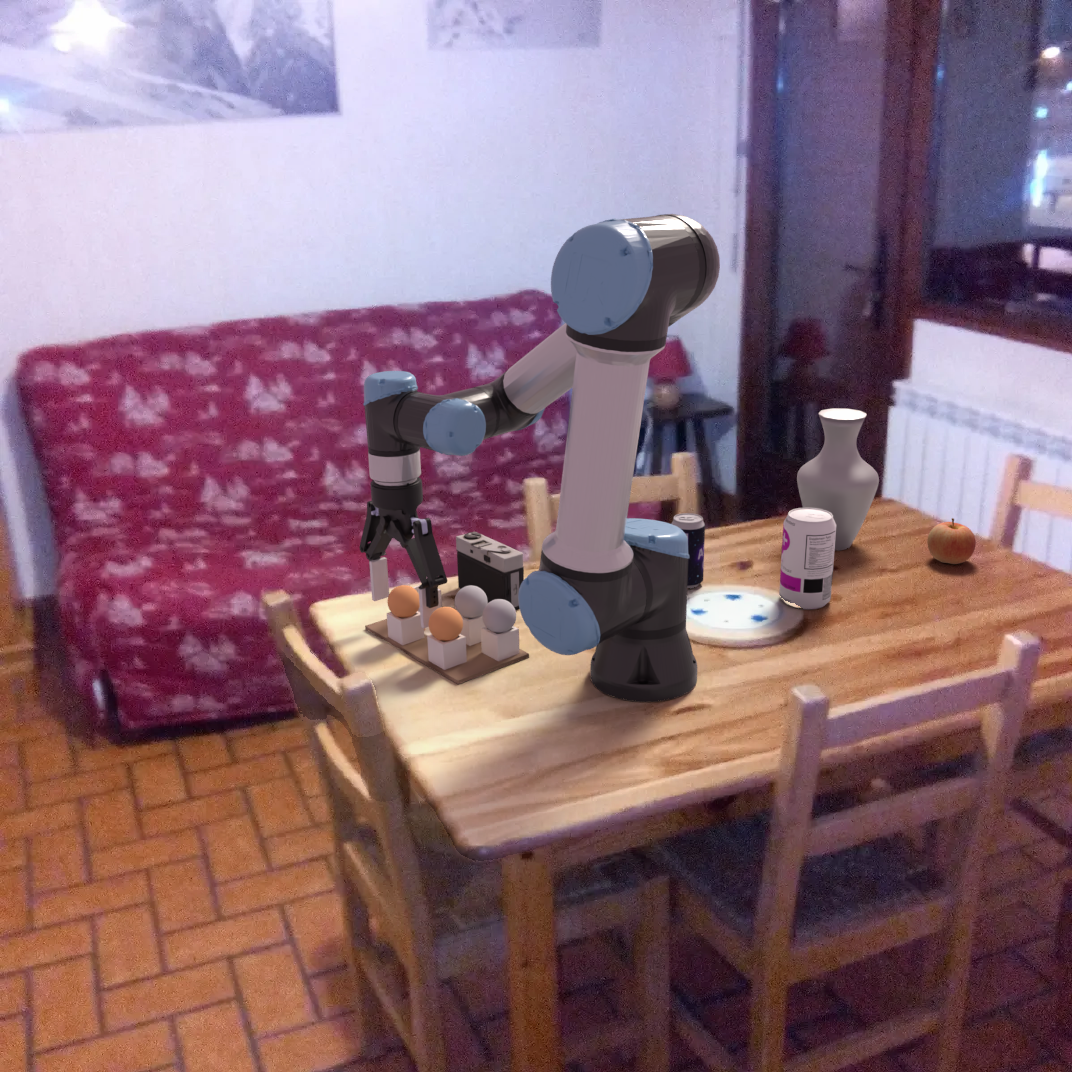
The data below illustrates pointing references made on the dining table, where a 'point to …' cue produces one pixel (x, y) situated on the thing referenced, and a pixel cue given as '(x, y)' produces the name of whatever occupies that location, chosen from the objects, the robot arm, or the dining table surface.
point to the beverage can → (693, 545)
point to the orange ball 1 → (403, 601)
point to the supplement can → (807, 557)
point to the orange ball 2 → (445, 623)
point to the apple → (951, 542)
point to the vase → (839, 475)
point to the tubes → (454, 650)
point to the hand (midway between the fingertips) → (404, 611)
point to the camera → (489, 567)
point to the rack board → (458, 674)
